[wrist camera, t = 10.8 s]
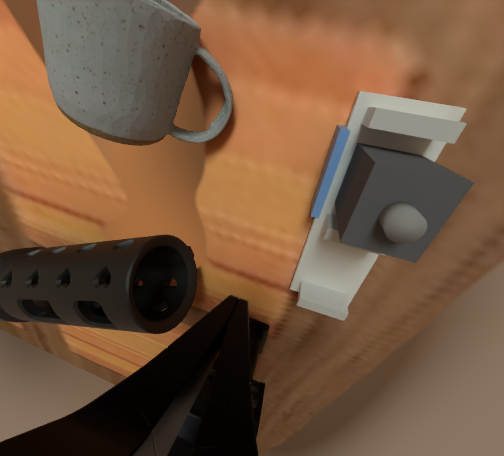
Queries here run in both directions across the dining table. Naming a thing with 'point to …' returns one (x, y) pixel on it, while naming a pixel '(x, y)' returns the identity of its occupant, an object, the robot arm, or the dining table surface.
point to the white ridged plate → (339, 156)
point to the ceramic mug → (124, 67)
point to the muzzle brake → (100, 284)
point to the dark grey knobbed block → (395, 201)
